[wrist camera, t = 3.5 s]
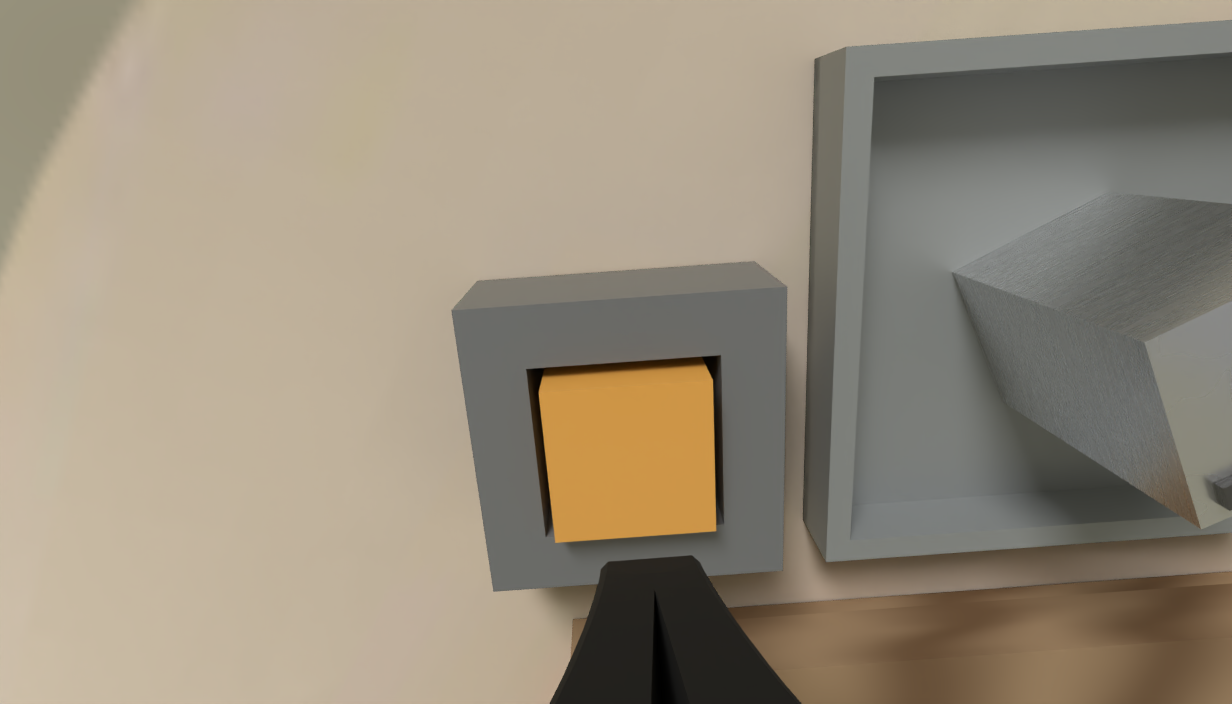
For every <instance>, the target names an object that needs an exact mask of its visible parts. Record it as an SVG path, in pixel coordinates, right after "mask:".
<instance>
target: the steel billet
mask: <svg viewBox="0 0 1232 704" xmlns="http://www.w3.org/2000/svg"><path fill="white" fill-rule="evenodd" d="M952 273H953V276H954V279H955V281H956V284H957V286H958V289H959V291H960V294H961V297H962V299H963V302H964V304H965V307H966V309H967V312H968V315H969V317H970V320H971V322H972V325H973V327H974V330H975V333H976V335H977V338H978V340H979V343H980V345H981V348H982V351H983V353H984V356H985V358H986V361H987V363H988V366H989V369H990V371H991V374H992V376H993V379H994V381H995V384H996V387H997V389H998V392H999V394H1000V397H1001V399H1002V402H1004V403H1005V404H1007V405H1008V406H1010V407H1012V408H1013V409H1015V410H1016V411H1018V412H1019V413H1021V414H1022V415H1024V416H1026V417H1027V418H1029V419H1030V420H1032V421H1033V422H1035V423H1036V424H1038V425H1040V426H1041V427H1043V428H1044V429H1046V430H1047V431H1049V432H1050V433H1052V434H1054V435H1055V436H1057V437H1058V438H1060V439H1061V440H1063V441H1064V442H1066V443H1068V444H1069V445H1071V446H1072V447H1074V448H1075V449H1077V450H1078V451H1080V452H1081V453H1083V454H1085V455H1086V456H1088V457H1089V458H1091V459H1092V460H1094V461H1095V462H1097V463H1099V464H1100V465H1102V466H1103V467H1105V468H1106V469H1108V470H1109V471H1111V472H1113V473H1114V474H1116V475H1117V476H1119V477H1120V478H1122V479H1123V480H1125V481H1127V482H1128V483H1130V484H1131V485H1133V486H1134V487H1136V488H1137V489H1139V490H1141V491H1142V492H1144V493H1145V494H1147V495H1148V496H1150V497H1151V498H1153V499H1155V500H1156V501H1158V502H1159V503H1161V504H1162V505H1164V506H1165V507H1167V508H1169V509H1170V510H1172V511H1173V512H1175V513H1176V514H1178V515H1179V516H1181V517H1183V518H1184V519H1186V520H1187V521H1189V522H1190V523H1192V524H1193V525H1195V526H1197V527H1198V528H1200V529H1204V528H1206V527H1208V526H1211V525H1213V524H1215V523H1217V522H1220V521H1222V520H1224V519H1227V518H1229V517H1231V516H1232V204H1226V203H1216V202H1206V201H1196V200H1185V199H1175V198H1165V197H1155V196H1144V195H1134V194H1124V193H1114V192H1107V193H1105V194H1103V195H1101V196H1099V197H1097V198H1095V199H1093V200H1091V201H1089V202H1087V203H1085V204H1084V205H1082V206H1080V207H1078V208H1076V209H1074V210H1072V211H1070V212H1068V213H1066V214H1064V215H1062V216H1060V217H1058V218H1056V219H1054V220H1052V221H1050V222H1048V223H1046V224H1044V225H1042V226H1040V227H1038V228H1037V229H1035V230H1033V231H1031V232H1029V233H1027V234H1025V235H1023V236H1021V237H1019V238H1017V239H1015V240H1013V241H1011V242H1009V243H1007V244H1005V245H1003V246H1001V247H999V248H997V249H995V250H993V251H991V252H990V253H988V254H986V255H984V256H982V257H980V258H978V259H976V260H974V261H972V262H970V263H968V264H966V265H964V266H962V267H960V268H958V269H956V270H954V271H952Z"/></svg>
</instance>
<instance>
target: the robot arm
mask: <svg viewBox="0 0 1232 704" xmlns="http://www.w3.org/2000/svg"><path fill="white" fill-rule="evenodd" d="M550 704H802V703H801V702H800V701H799V700H798V699H797V697H796V696H795V695H794V694H793V693H792V692H791V691H790V689H789V688H788V687H787V686H786V685H785V683H784V682H783V681H782V680H781V679H780V677H779V676H778V675H777V674H776V672H775V671H774V670H773V669H772V668H771V666H770V665H769V664H768V662H767V661H766V660H765V659H764V657H763V656H762V655H761V653H760V652H759V651H758V649H757V648H756V647H755V645H754V644H753V643H752V642H751V640H750V639H749V638H748V636H747V635H746V634H745V632H744V631H743V630H742V628H741V627H740V625H739V624H738V623H737V621H736V620H735V618H734V617H733V616H732V614H731V613H730V611H729V610H728V608H727V607H726V605H725V604H724V602H723V601H722V599H721V598H720V596H719V595H718V593H717V591H716V590H715V588H714V587H713V585H712V583H711V582H710V580H709V578H708V576H707V575H706V573H705V571H704V569H703V567H702V565H701V563H700V562H699V561H698V560H697V559H696V558H695V557H693V556H692V555H688V556H675V557H661V558H648V559H635V560H622V561H609V562H607V563H606V564H605V565H604V566H603V567H602V568H601V571H600V577H599V582H598V586H597V590H596V593H595V597H594V600H593V603H592V606H591V609H590V612H589V615H588V617H587V620H586V623H585V626H584V628H583V631H582V633H581V636H580V638H579V640H578V643H577V645H576V648H575V650H574V652H573V655H572V657H571V659H570V662H569V664H568V667H567V669H566V671H565V673H564V675H563V678H562V680H561V682H560V684H559V686H558V688H557V690H556V692H555V694H554V696H553V698H552V700H551V702H550Z"/></svg>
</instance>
